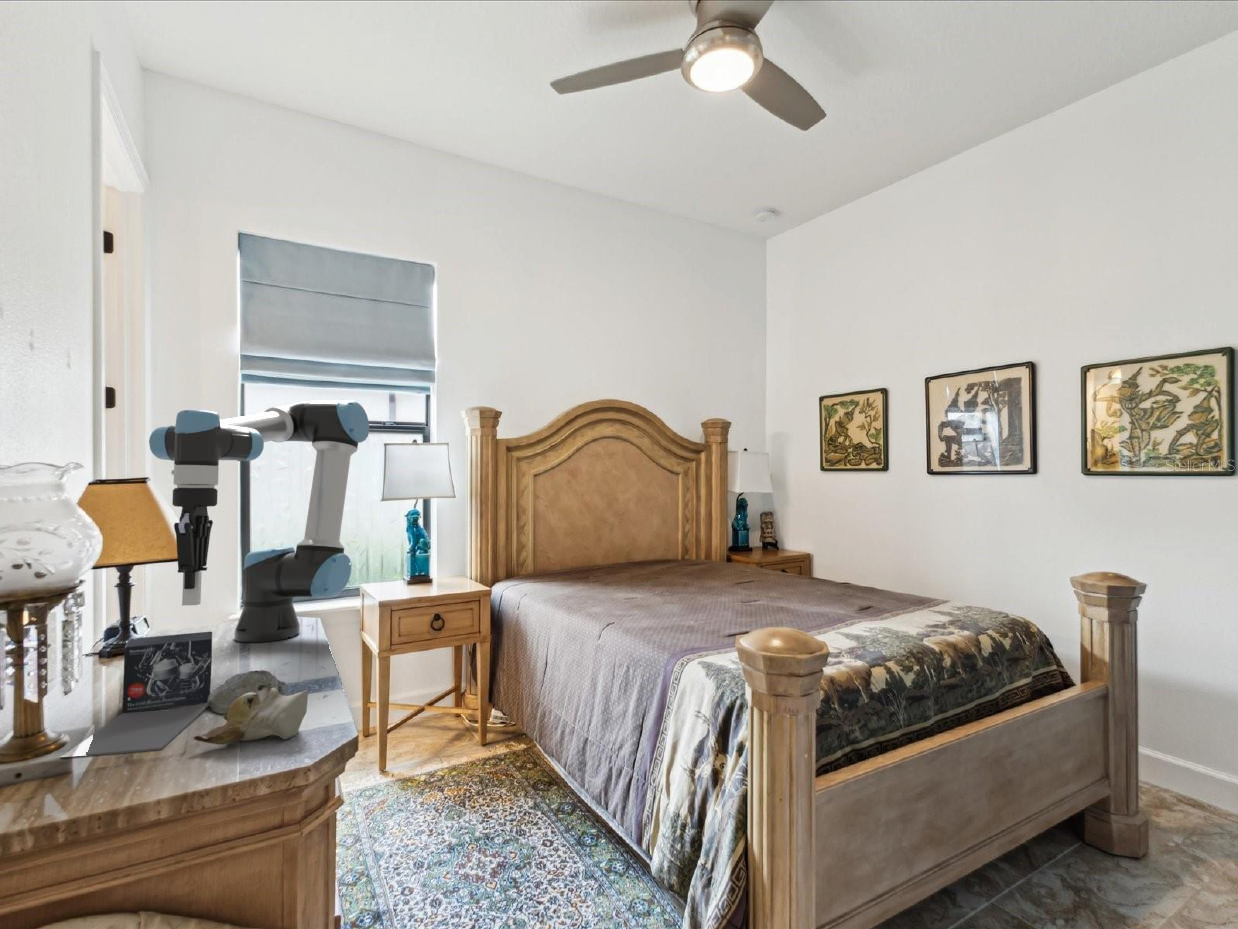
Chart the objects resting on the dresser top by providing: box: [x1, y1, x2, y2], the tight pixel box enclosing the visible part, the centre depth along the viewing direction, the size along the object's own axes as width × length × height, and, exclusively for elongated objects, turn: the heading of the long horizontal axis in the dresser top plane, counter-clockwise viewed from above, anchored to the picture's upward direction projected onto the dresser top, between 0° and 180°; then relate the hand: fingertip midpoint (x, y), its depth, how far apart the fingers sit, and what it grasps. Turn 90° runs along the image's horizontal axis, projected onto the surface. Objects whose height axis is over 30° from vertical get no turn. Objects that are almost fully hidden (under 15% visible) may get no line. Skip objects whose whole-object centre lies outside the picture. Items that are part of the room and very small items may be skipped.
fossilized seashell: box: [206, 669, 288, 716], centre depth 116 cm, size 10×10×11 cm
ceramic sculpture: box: [193, 685, 309, 745], centre depth 101 cm, size 11×9×15 cm
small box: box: [121, 631, 213, 714], centre depth 116 cm, size 13×7×12 cm, turn 123°
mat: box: [86, 706, 208, 757], centre depth 103 cm, size 18×13×1 cm
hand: (191, 604), depth 126 cm, fingers closed
